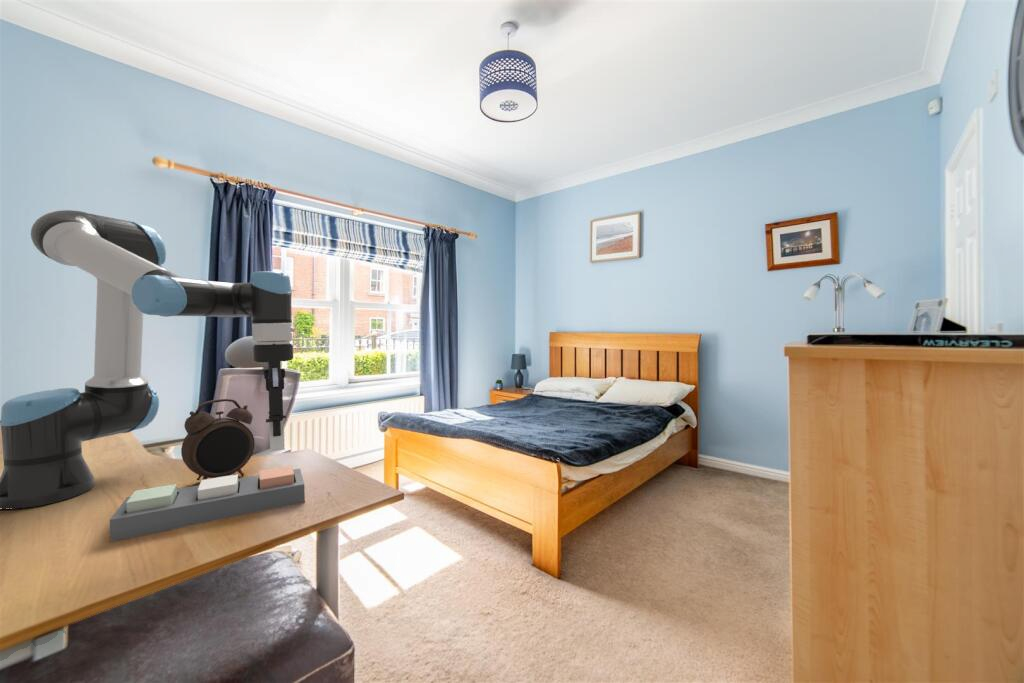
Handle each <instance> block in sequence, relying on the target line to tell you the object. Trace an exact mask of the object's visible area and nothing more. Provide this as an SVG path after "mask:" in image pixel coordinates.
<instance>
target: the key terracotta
mask: <svg viewBox="0 0 1024 683" xmlns="http://www.w3.org/2000/svg"><path fill="white" fill-rule="evenodd" d="M293 470H294V468H293V465H286V466H282V467H275V468H267V469H262V470H259V475H260V489H263V488H268V487H274V486H279V485H285V484H290V483H294V472H293Z"/></svg>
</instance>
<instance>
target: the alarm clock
mask: <svg viewBox="0 0 1024 683" xmlns="http://www.w3.org/2000/svg"><path fill="white" fill-rule="evenodd" d="M221 402H230V403H231V402H232V403H233V404H234V405H235V406H236V408H233V409H230V410H229V411H228V413H227V414H226V415H225V417H222V416H221V415H223V414H224V411H222V410H220V411H216V412H215V415H217V416H218V417H214V416H213V415H212V414H211V413H209V412H206V411H201V410H202V408H203V407H205V406H207V405H209V404H214V403H221ZM189 415H190V416H189V417H187V418H186V419H185V422H184V424H183V425H184V429H185V431H186V433H187V434H186V435H185V437H184V438H183V440H182V444H181V450H180V453H181V454H180V455H181V458H182V461H183V464H185V466H186V467H187V468H188V469H189V470H190V471H191V472H192V473H194V474H196V475H198V477H197V478H196V481H199V480H200V481H201V480H205V479H211V478H217V477H224V476H230V475H235V473H239V474H240V476H241V475H243V476H244V475H245V473H243V471H242V469H243V468H244V467H245V466H246V465H247V463H248V462H249V461H250V459H251V457H252V456H253V453H254V450H255V446H256V444H255V442H256V441H255V438H254V434H253V432H252V431H251V429H250V428H248V427H247V426H246V425H245V424H247V425H251V424H252V421H253V413H252V412H250V411H249V409H248V405H247V404H245V405H243V407H241V405H240V404H239V403H238V402H237V401H236V400H235V399H231V398H220V399H219V398H218V399H213V400H208V401H205V402H203V403H201V404H200V405H199V406H198V407H197V409H196V410H195V411H190V412H189ZM201 478H202V479H201Z"/></svg>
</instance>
